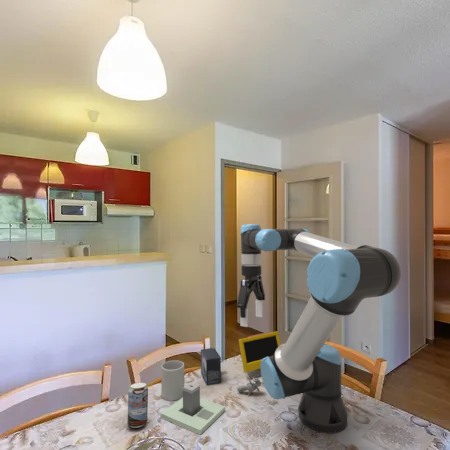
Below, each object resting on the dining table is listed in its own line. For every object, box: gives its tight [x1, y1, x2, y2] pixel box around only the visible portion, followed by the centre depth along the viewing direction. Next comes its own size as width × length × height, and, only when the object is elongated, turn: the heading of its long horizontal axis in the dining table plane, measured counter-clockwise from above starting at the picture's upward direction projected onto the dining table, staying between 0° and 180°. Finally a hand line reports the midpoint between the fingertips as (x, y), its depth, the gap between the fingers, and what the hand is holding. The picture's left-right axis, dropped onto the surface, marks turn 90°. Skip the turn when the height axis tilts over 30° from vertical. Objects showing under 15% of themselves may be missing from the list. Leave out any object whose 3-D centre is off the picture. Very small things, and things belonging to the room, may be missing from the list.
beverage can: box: [126, 382, 149, 429], centre depth 96 cm, size 6×7×12 cm
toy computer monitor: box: [238, 330, 282, 379], centre depth 131 cm, size 20×8×16 cm, turn 119°
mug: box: [160, 359, 185, 402], centre depth 114 cm, size 12×8×11 cm
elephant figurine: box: [236, 377, 262, 397], centre depth 113 cm, size 10×6×9 cm
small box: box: [200, 347, 222, 386], centre depth 125 cm, size 11×6×10 cm, turn 17°
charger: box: [182, 382, 201, 417], centre depth 101 cm, size 4×4×9 cm
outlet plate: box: [160, 397, 226, 436], centre depth 101 cm, size 16×14×2 cm
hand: (252, 321), depth 115 cm, fingers open, 13 cm apart
